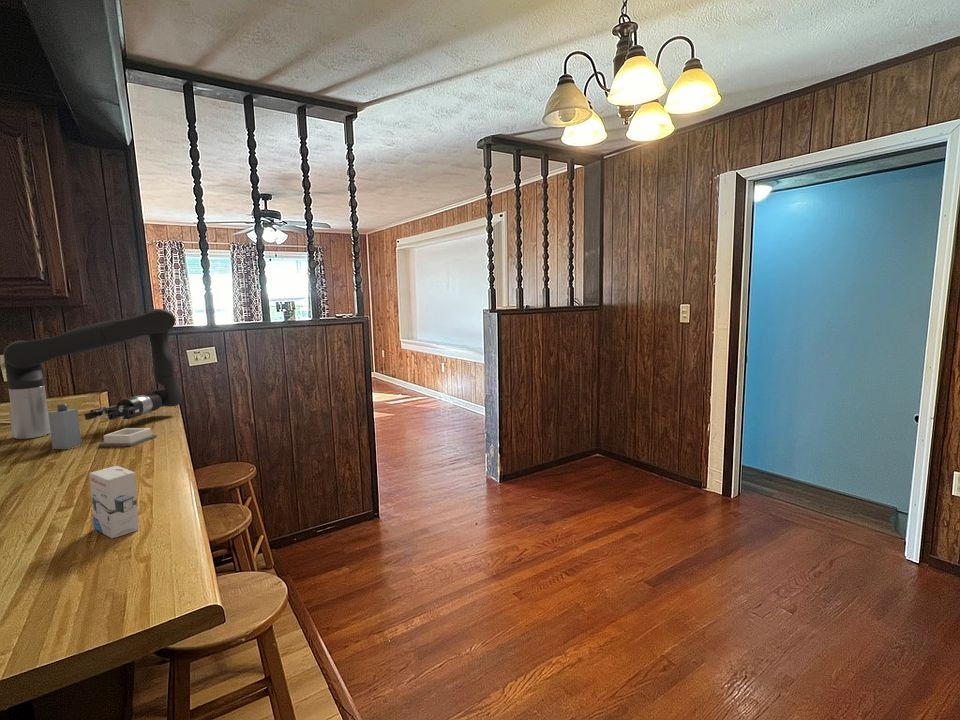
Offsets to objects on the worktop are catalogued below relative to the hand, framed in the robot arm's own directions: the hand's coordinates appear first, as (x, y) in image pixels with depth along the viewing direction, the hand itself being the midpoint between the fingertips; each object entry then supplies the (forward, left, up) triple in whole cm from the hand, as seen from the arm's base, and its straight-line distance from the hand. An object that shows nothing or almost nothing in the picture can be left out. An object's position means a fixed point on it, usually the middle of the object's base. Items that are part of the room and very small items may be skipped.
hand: (97, 416), depth 167 cm
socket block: (+15, -5, -7) cm, 17 cm away
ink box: (+64, -65, -7) cm, 92 cm away
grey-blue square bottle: (0, -12, -7) cm, 14 cm away
